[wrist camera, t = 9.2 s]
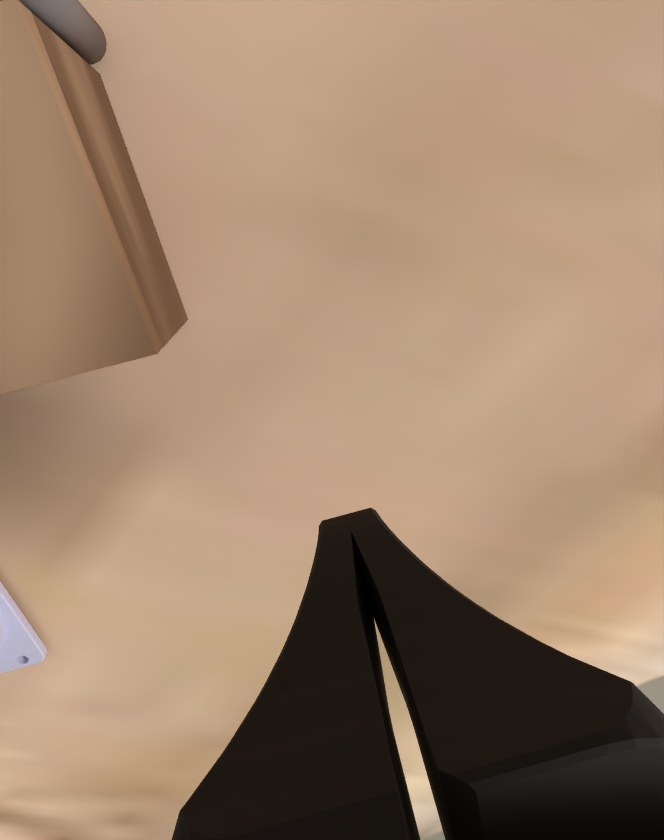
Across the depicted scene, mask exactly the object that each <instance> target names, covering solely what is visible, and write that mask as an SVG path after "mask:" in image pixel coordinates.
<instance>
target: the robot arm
mask: <svg viewBox="0 0 664 840" xmlns="http://www.w3.org/2000/svg"><path fill="white" fill-rule="evenodd" d="M373 616H374V617H373ZM374 619H375V622H376V624H377V627H378V630H379V632H380V635H381V638H382V641H383V643H384V646H385V649H386V651H387V654H388V657H389V659H390V662H391V665H392V667H393V670H394V673H395V675H396V678H397V681H398V683H399V686H400V689H401V691H402V694H403V697H404V699H405V702H406V705H407V708H408V711H409V714H410V717H411V720H412V723H413V726H414V730H415V733H416V737H417V740H418V744H419V747H420V751H421V754H422V758H423V761H424V765H425V768H426V772H427V775H428V779H429V783H430V786H431V790H432V793H433V797H434V800H435V804H436V807H437V811H438V814H439V818H440V822H441V825H442V829H443V832H444V836H445V839H446V840H664V714H663V713H662V712H661V711H660V710H659V709H658V708H657V707H656V706H655V705H654V704H653V703H652V702H651V701H650V700H649V699H648V698H647V697H646V696H645V695H644V694H643V693H642V692H641V691H640V690H639V689H638V688H637V687H636V686H635V685H634V684H633V683H632V682H630V681H628V680H625V679H623V678H620V677H618V676H616V675H613V674H611V673H608V672H606V671H604V670H601V669H599V668H596V667H594V666H592V665H589V664H587V663H584V662H582V661H580V660H577V659H575V658H572V657H570V656H568V655H566V654H564V653H562V652H560V651H558V650H556V649H554V648H552V647H550V646H548V645H546V644H544V643H542V642H540V641H538V640H536V639H535V638H533V637H531V636H529V635H527V634H526V633H524V632H522V631H520V630H519V629H517V628H515V627H513V626H512V625H510V624H508V623H506V622H504V621H503V620H501V619H499V618H497V617H496V616H494V615H493V614H491V613H490V612H488V611H487V610H485V609H483V608H482V607H480V606H479V605H477V604H476V603H474V602H473V601H471V600H470V599H469V598H467V597H466V596H464V595H463V594H462V593H460V592H459V591H457V590H456V589H455V588H453V587H452V586H451V585H450V584H448V583H447V582H446V581H444V580H443V579H442V578H441V577H440V576H438V575H437V574H436V573H435V572H434V571H432V570H431V569H430V568H429V567H428V566H426V565H425V564H424V563H423V562H422V561H421V560H420V559H419V558H418V557H417V556H416V555H415V554H413V553H412V552H411V551H410V550H409V549H408V548H407V547H406V546H405V545H404V544H403V543H402V542H401V541H400V540H399V539H398V538H397V537H396V535H395V534H394V533H393V532H392V531H391V530H390V529H389V528H388V526H387V525H386V524H385V523H384V521H383V520H382V519H381V518H380V516H379V515H378V513H377V512H376V510H374V509H372V508H368V509H364V510H361V511H357V512H353V513H349V514H346V515H342V516H338V517H335V518H331V519H327V520H324V521H322V522H321V524H320V525H319V535H318V542H317V548H316V552H315V557H314V562H313V565H312V569H311V573H310V577H309V580H308V584H307V587H306V590H305V593H304V596H303V599H302V602H301V605H300V608H299V610H298V613H297V616H296V619H295V621H294V624H293V626H292V629H291V631H290V633H289V636H288V638H287V640H286V643H285V645H284V647H283V649H282V651H281V654H280V656H279V658H278V660H277V662H276V664H275V666H274V667H273V669H272V671H271V673H270V675H269V677H268V679H267V681H266V683H265V685H264V687H263V688H262V690H261V692H260V694H259V696H258V697H257V699H256V701H255V703H254V704H253V706H252V707H251V709H250V711H249V712H248V714H247V715H246V717H245V719H244V720H243V722H242V723H241V725H240V727H239V728H238V730H237V731H236V733H235V735H234V736H233V738H232V739H231V741H230V743H229V744H228V746H227V747H226V748H225V750H224V751H223V753H222V754H221V756H220V757H219V759H218V760H217V761H216V763H215V764H214V765H213V767H212V768H211V770H210V771H209V772H208V774H207V775H206V776H205V778H204V779H203V781H202V782H201V783H200V785H199V786H198V787H197V789H196V790H195V792H194V793H193V794H192V796H191V797H190V798H189V800H188V801H187V802H186V804H185V805H184V806H183V808H182V809H181V810H180V812H179V816H178V819H177V823H176V826H175V830H174V834H173V837H172V840H420V837H419V833H418V829H417V825H416V821H415V817H414V813H413V809H412V805H411V801H410V797H409V793H408V789H407V785H406V781H405V777H404V773H403V769H402V765H401V761H400V757H399V752H398V748H397V744H396V740H395V736H394V732H393V728H392V723H391V718H390V713H389V708H388V702H387V696H386V690H385V684H384V677H383V671H382V665H381V659H380V653H379V647H378V641H377V635H376V629H375V623H374ZM46 654H47V649H46V647H45V646H44V644H43V643H42V641H41V640H40V638H39V637H38V636H37V634H36V633H35V631H34V630H33V628H32V627H31V625H30V624H29V622H28V621H27V620H26V618H25V617H24V615H23V614H22V612H21V611H20V609H19V608H18V606H17V605H16V603H15V602H14V601H13V599H12V598H11V596H10V595H9V593H8V592H7V590H6V589H5V587H4V586H3V585H2V583H1V582H0V673H4V672H7V671H11V670H15V669H18V668H22V667H26V666H29V665H33V664H37V663H40V662H42V661H43V660H44V658H45V656H46ZM25 656H26V657H25Z"/></svg>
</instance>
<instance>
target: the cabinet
mask: <svg viewBox="0 0 664 840" xmlns="http://www.w3.org/2000/svg"><path fill="white" fill-rule="evenodd" d="M187 320H188V318H187V316H186V313H185V310H184V307H183V304H182V302H181V299H180V296H179V293H178V290H177V288H176V285H175V282H174V279H173V277H172V274H171V271H170V268H169V265H168V263H167V260H166V257H165V254H164V251H163V249H162V246H161V243H160V240H159V238H158V235H157V232H156V229H155V226H154V224H153V221H152V218H151V215H150V212H149V210H148V207H147V204H146V201H145V199H144V196H143V193H142V190H141V187H140V185H139V182H138V179H137V176H136V173H135V171H134V168H133V165H132V162H131V160H130V157H129V154H128V151H127V148H126V146H125V143H124V140H123V137H122V134H121V132H120V129H119V126H118V123H117V121H116V118H115V115H114V112H113V109H112V107H111V104H110V101H109V98H108V95H107V93H106V90H105V87H104V84H103V82H102V79H101V76H100V74H99V73H98V72H97V71H96V70H95V69H94V68H92V67H91V66H90V65H89V64H88V63H87V62H86V61H85V60H84V59H83V58H81V57H80V56H79V55H78V54H77V53H76V52H75V51H74V50H73V49H72V48H70V47H69V46H68V45H67V44H66V43H65V42H64V41H63V40H62V39H60V38H59V37H58V36H57V35H56V34H55V33H54V32H53V31H52V30H51V29H49V28H48V27H47V26H46V25H45V24H44V23H43V22H42V21H41V20H40V19H38V18H37V17H36V16H35V15H34V14H33V13H32V12H31V11H30V10H29V9H27V8H26V7H25V6H24V5H23V4H22V3H21V2H20V1H19V0H2V1H0V394H3V393H7V392H11V391H15V390H19V389H23V388H27V387H30V386H34V385H38V384H42V383H46V382H50V381H54V380H58V379H61V378H65V377H69V376H73V375H77V374H81V373H85V372H88V371H92V370H96V369H100V368H104V367H108V366H112V365H116V364H119V363H123V362H127V361H131V360H135V359H139V358H143V357H147V356H150V355H154V354H157V353H158V352H159V351H160V350H161V349H162V348H163V347H164V346H165V345H166V343H167V342H168V341H169V340H170V339H171V338H172V337H173V336H174V335H175V334H176V332H177V331H178V330H179V329H180V328H181V327H182V326H183V325H184V324H185V322H186V321H187Z"/></svg>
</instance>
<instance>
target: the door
mask: <svg viewBox="0 0 664 840" xmlns="http://www.w3.org/2000/svg"><path fill="white" fill-rule="evenodd" d="M0 1H2V0H0ZM19 1H20V2H21V3H22V4H23V5H24V6H25V7H26V8H27V9H29V10H30V11H31V12H32V13H33V14H34V15H35V16H36V17H37V18H38V19H40V20H41V21H42V22H43V23H44V24H45V25H46V26H47V27H48V28H49V29H51V30H52V31H53V32H54V33H55V34H56V35H57V36H58V37H59V38H60V39H62V40H63V41H64V42H65V43H66V44H67V45H68V46H69V47H70V48H72V49H73V50H74V51H75V52H76V53H77V54H78V55H79V56H80V57H81V58H83V59H84V60H85V61H86V62H87V63H88V64H94V63H97V62H99V61H100V60H101V59H102V58H103V56H104V54H105V51H106V39H105V35H104V33H103V31H102V29H101V27H100V26H99V25H98V24H97V22H96V21H95V20H94V19H93V18H92V16H91V15H90V14H89V13H88V12H87V11H86V9H85V8H84V7H83V6H82V5H81V3H80V2H79V1H78V0H19Z"/></svg>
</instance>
